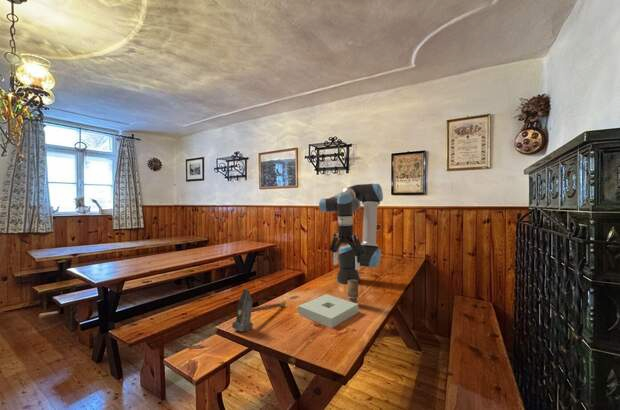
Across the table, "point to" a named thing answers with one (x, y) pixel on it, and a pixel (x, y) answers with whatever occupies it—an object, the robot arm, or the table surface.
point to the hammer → (249, 311)
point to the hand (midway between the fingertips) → (346, 266)
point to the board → (328, 310)
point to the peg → (353, 290)
